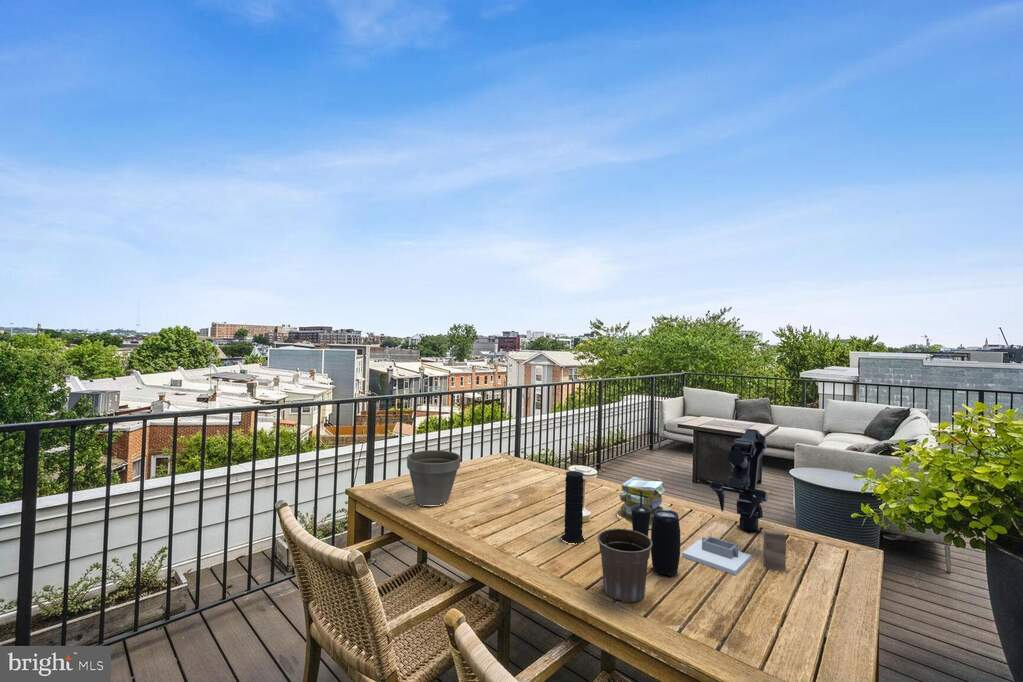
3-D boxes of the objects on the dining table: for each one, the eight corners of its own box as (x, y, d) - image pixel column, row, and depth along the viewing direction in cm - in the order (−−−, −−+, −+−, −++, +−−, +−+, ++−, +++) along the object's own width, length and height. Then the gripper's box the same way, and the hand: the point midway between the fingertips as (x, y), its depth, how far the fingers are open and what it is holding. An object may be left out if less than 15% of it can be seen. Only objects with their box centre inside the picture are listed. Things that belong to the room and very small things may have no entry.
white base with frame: (700, 543, 174) (700, 531, 174) (750, 559, 161) (751, 546, 161) (682, 556, 162) (682, 544, 162) (735, 575, 150) (735, 561, 150)
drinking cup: (651, 550, 167) (652, 495, 167) (630, 548, 169) (631, 494, 169) (649, 541, 175) (650, 489, 175) (629, 539, 176) (630, 487, 176)
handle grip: (582, 547, 168) (589, 537, 177) (583, 476, 168) (590, 469, 178) (556, 542, 173) (565, 532, 182) (558, 472, 173) (566, 466, 182)
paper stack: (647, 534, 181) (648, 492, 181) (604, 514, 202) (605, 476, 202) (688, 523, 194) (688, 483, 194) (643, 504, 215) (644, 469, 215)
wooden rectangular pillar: (763, 564, 158) (763, 529, 158) (782, 566, 156) (783, 531, 156) (766, 569, 154) (767, 534, 154) (786, 572, 152) (787, 536, 153)
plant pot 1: (470, 500, 217) (471, 454, 217) (435, 516, 196) (436, 465, 196) (431, 490, 230) (432, 447, 230) (394, 504, 209) (395, 457, 209)
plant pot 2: (620, 613, 127) (621, 555, 128) (585, 585, 142) (586, 533, 142) (663, 599, 135) (664, 544, 135) (625, 574, 149) (626, 525, 149)
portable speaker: (645, 567, 154) (646, 509, 154) (667, 563, 157) (668, 506, 157) (662, 580, 146) (663, 519, 146) (685, 575, 149) (686, 515, 149)
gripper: (709, 462, 173) (703, 503, 167) (765, 471, 161) (760, 516, 156) (715, 470, 180) (710, 510, 175) (769, 479, 169) (765, 522, 163)
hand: (735, 514), depth 167 cm, fingers open, 9 cm apart
